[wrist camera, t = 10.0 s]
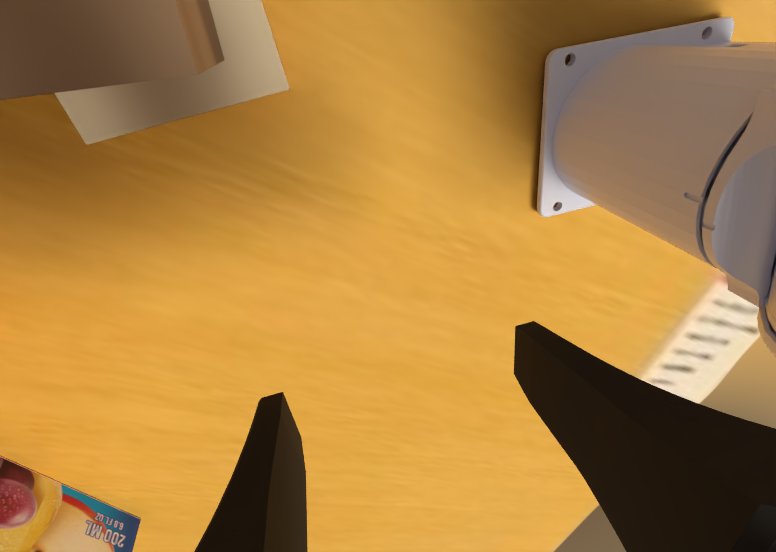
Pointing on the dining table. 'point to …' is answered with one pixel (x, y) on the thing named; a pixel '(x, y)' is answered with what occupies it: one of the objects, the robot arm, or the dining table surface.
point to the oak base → (187, 81)
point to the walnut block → (102, 43)
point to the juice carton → (57, 516)
